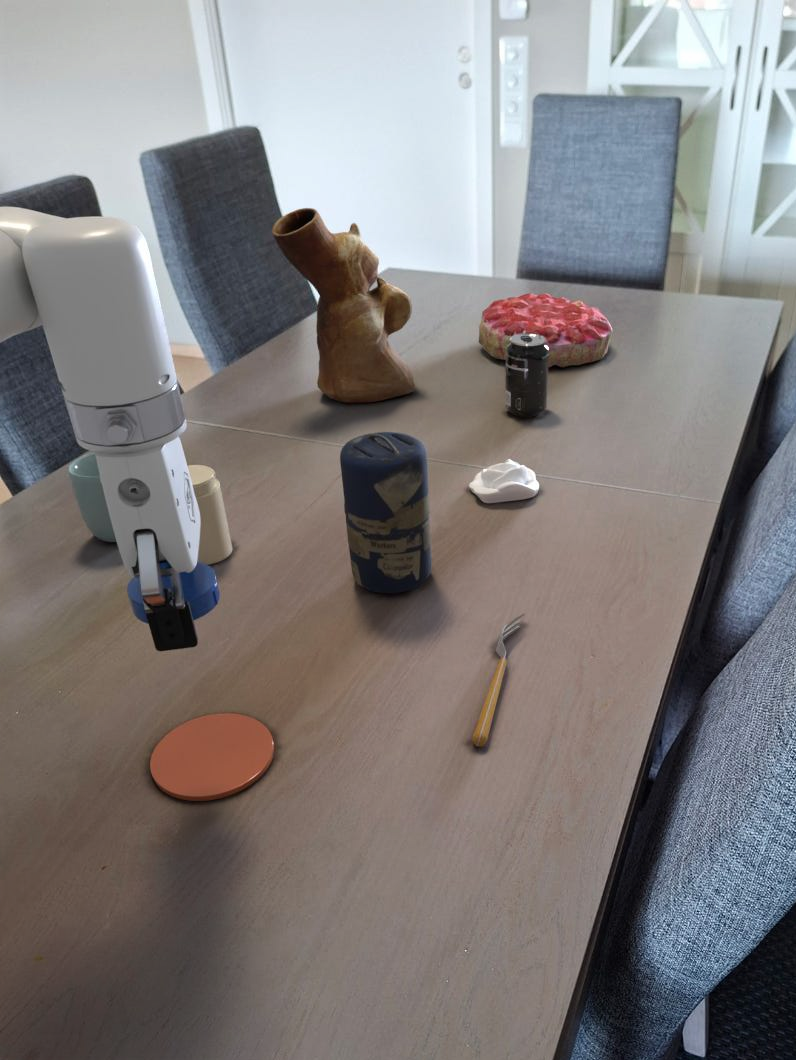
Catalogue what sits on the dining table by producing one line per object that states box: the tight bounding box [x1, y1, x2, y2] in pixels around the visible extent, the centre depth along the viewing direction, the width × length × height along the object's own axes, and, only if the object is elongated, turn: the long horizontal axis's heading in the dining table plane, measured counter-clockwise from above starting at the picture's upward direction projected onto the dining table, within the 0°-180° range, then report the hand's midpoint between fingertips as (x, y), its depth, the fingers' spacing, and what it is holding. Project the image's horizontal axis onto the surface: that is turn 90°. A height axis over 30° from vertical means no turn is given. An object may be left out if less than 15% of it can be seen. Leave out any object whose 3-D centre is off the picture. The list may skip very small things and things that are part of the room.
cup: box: [67, 451, 117, 543], centre depth 113 cm, size 8×8×10 cm
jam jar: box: [187, 464, 233, 566], centre depth 109 cm, size 6×6×11 cm
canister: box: [339, 431, 432, 594], centre depth 102 cm, size 10×10×18 cm
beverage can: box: [504, 333, 549, 418], centre depth 145 cm, size 7×7×12 cm
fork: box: [471, 613, 525, 747], centre depth 91 cm, size 2×2×20 cm
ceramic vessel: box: [271, 207, 416, 403], centre depth 146 cm, size 16×22×30 cm
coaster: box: [149, 712, 275, 802], centre depth 82 cm, size 11×11×1 cm
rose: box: [468, 458, 540, 504], centre depth 124 cm, size 10×4×10 cm
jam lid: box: [126, 562, 221, 624], centre depth 72 cm, size 7×7×2 cm
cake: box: [478, 292, 614, 368], centre depth 171 cm, size 25×25×8 cm
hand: (180, 618), depth 73 cm, fingers closed on jam lid, 6 cm apart
